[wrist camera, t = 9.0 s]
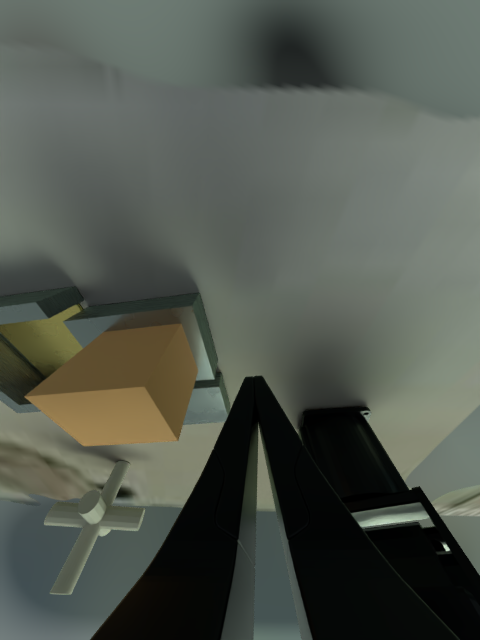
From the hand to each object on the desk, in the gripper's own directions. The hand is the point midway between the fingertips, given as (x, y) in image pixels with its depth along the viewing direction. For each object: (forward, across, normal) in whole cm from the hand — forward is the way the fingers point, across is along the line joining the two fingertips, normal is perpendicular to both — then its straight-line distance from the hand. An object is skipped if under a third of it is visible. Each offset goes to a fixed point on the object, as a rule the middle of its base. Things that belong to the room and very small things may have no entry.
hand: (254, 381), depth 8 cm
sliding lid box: (+5, +12, 0) cm, 13 cm away
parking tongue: (+5, +7, +7) cm, 11 cm away
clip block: (+3, +6, 0) cm, 7 cm away
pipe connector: (+5, +20, +21) cm, 30 cm away
